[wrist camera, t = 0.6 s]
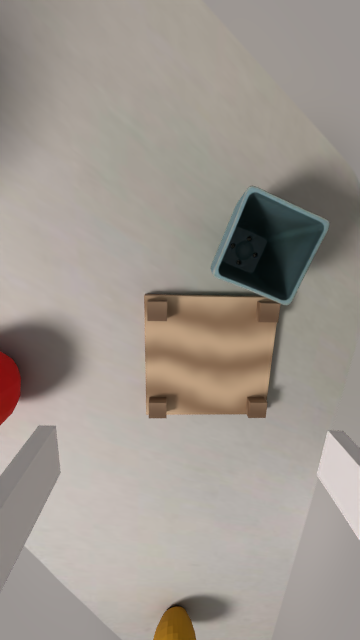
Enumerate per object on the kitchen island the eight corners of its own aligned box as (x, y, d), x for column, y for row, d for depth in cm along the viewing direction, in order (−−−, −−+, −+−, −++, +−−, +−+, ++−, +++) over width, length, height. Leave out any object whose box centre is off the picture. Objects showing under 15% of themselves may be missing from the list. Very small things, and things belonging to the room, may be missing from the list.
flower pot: (289, 230, 32) (333, 221, 23) (259, 293, 34) (289, 307, 25) (227, 202, 30) (249, 183, 22) (200, 270, 32) (211, 276, 24)
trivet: (145, 294, 33) (143, 297, 30) (276, 296, 34) (284, 299, 31) (147, 409, 38) (145, 421, 35) (261, 409, 39) (268, 420, 36)
